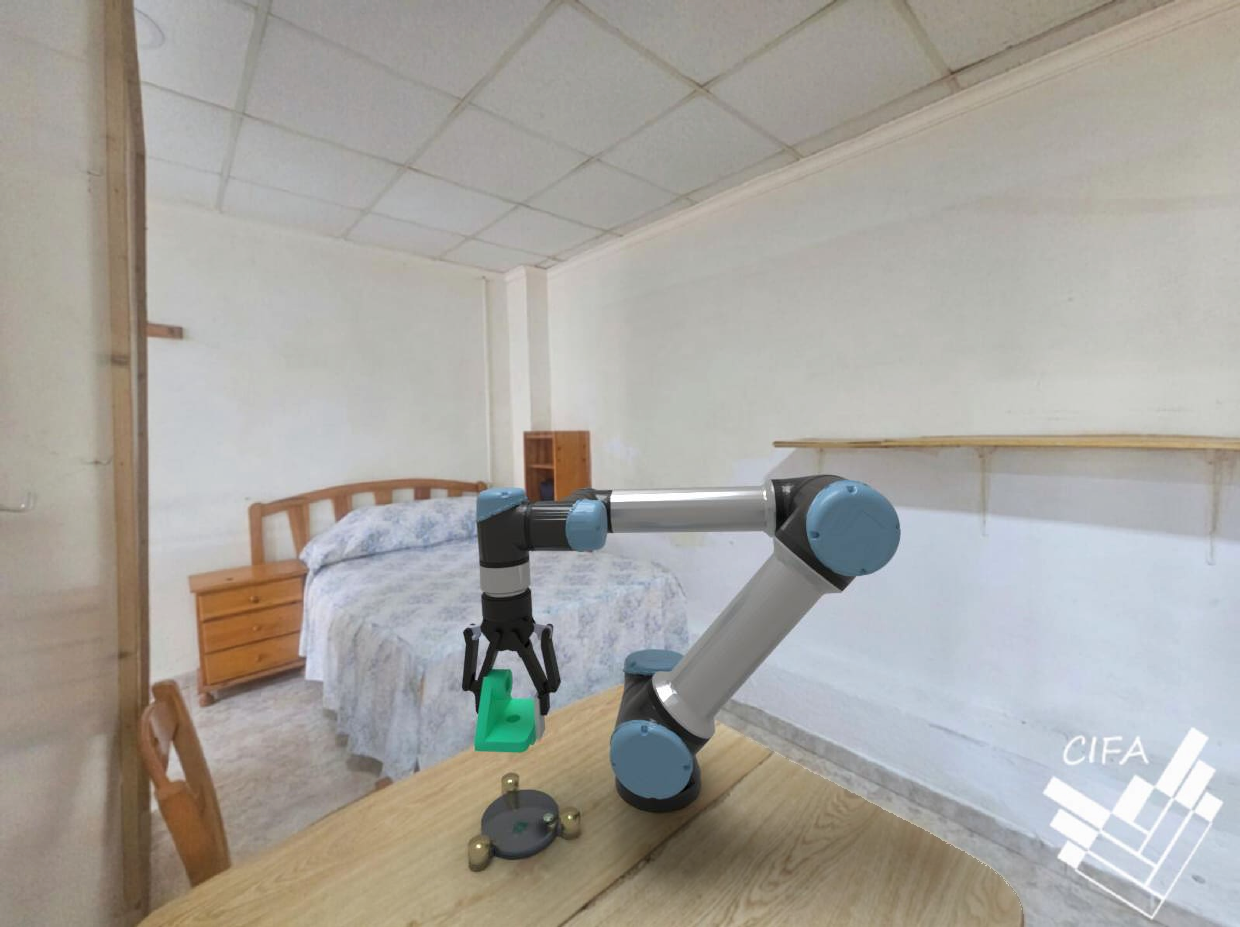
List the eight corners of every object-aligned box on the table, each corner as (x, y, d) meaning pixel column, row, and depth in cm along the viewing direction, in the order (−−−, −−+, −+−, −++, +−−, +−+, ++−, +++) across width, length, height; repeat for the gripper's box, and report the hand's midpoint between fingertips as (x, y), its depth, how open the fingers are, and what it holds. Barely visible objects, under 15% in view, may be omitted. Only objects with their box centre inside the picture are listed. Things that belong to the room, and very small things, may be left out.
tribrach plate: (589, 794, 89) (589, 778, 89) (568, 880, 72) (568, 859, 72) (502, 788, 91) (501, 771, 90) (461, 869, 74) (461, 850, 74)
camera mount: (526, 760, 74) (522, 690, 73) (475, 758, 75) (471, 689, 74) (548, 714, 86) (545, 654, 85) (504, 713, 87) (500, 653, 86)
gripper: (577, 581, 81) (583, 721, 83) (452, 582, 84) (461, 718, 85) (566, 597, 74) (574, 750, 76) (430, 597, 76) (440, 745, 78)
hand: (514, 733), depth 80 cm, fingers closed on camera mount, 8 cm apart
